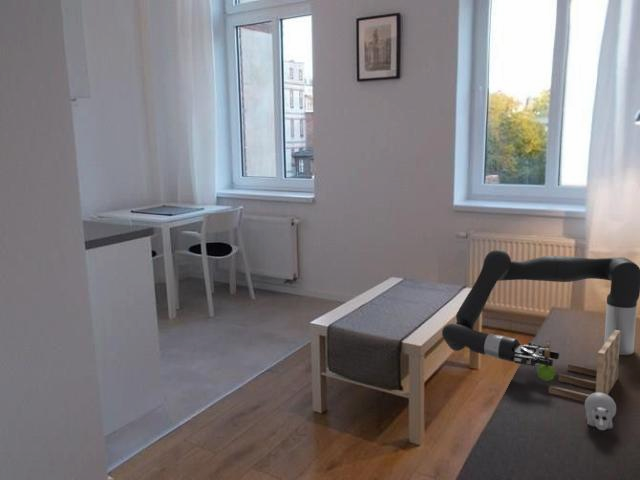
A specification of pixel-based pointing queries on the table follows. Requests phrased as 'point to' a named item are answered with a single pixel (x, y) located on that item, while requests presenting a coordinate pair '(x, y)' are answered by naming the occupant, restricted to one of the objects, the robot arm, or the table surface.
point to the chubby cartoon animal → (600, 410)
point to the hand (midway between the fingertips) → (555, 359)
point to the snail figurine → (546, 367)
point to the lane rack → (594, 372)
